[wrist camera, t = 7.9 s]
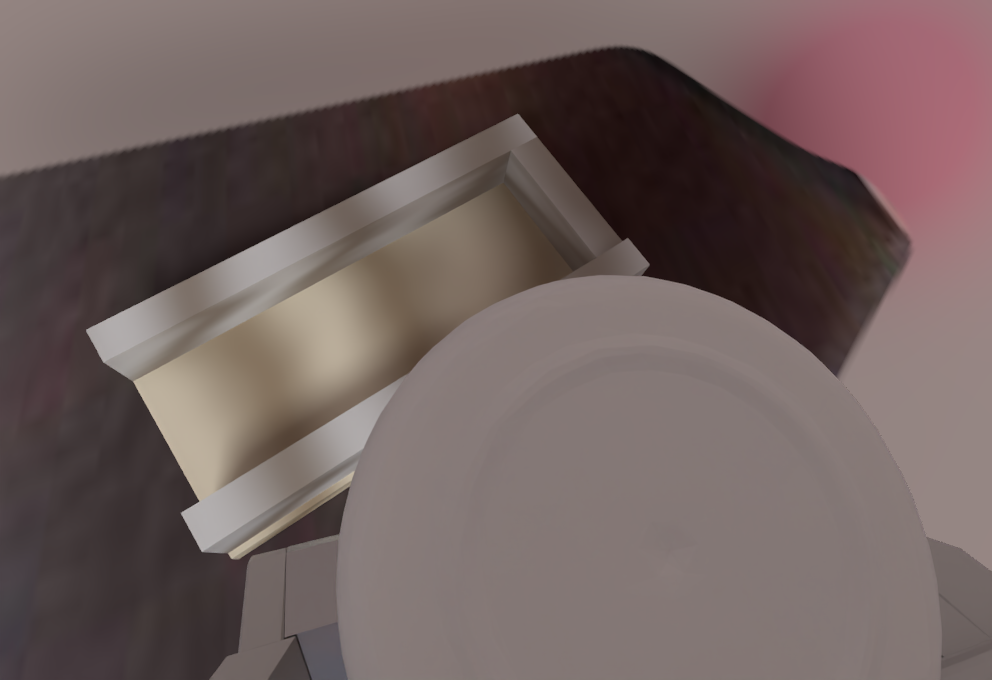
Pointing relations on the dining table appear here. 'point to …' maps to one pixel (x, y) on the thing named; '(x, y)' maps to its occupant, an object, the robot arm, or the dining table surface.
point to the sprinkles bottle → (630, 505)
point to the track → (344, 323)
